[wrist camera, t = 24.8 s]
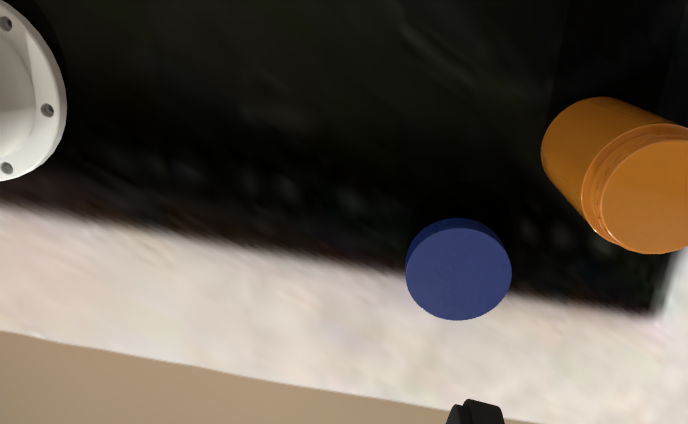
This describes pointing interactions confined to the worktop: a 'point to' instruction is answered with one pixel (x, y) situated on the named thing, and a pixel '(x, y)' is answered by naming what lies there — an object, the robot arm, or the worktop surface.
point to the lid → (457, 269)
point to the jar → (622, 172)
